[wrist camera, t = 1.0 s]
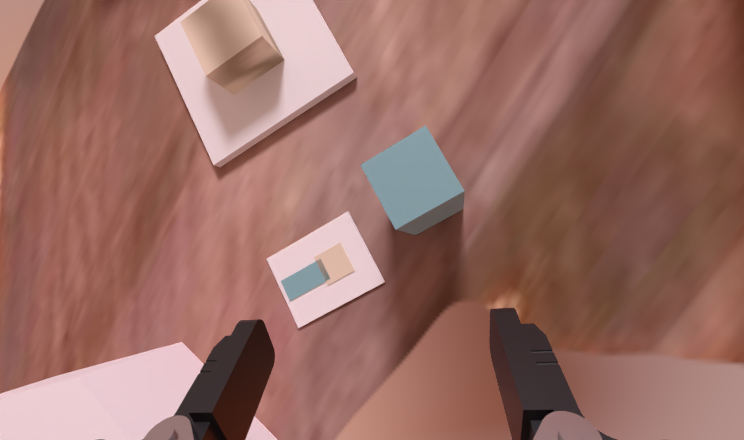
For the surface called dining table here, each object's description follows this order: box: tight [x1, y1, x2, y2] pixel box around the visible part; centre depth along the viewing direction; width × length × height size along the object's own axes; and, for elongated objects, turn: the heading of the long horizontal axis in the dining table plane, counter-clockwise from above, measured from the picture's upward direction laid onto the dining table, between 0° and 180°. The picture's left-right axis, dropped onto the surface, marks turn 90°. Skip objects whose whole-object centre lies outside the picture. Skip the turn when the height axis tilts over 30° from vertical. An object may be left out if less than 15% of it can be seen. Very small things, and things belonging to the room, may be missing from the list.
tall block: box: [361, 126, 465, 235], centre depth 26 cm, size 4×4×10 cm
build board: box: [155, 0, 357, 167], centre depth 35 cm, size 16×16×1 cm
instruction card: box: [267, 212, 385, 328], centre depth 32 cm, size 9×7×1 cm
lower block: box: [180, 0, 284, 95], centre depth 33 cm, size 6×6×4 cm
